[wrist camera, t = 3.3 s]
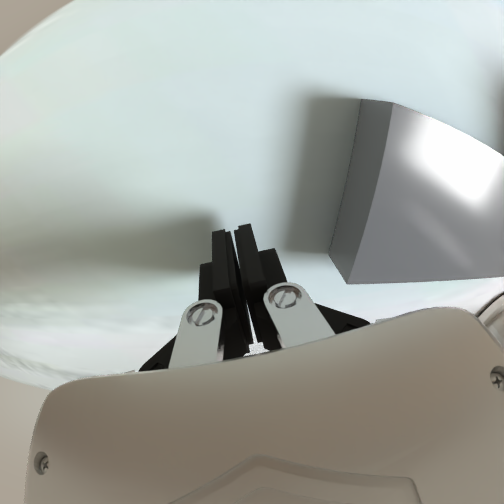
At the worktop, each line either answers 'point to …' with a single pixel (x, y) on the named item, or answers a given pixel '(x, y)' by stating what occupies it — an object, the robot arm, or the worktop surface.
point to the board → (418, 202)
